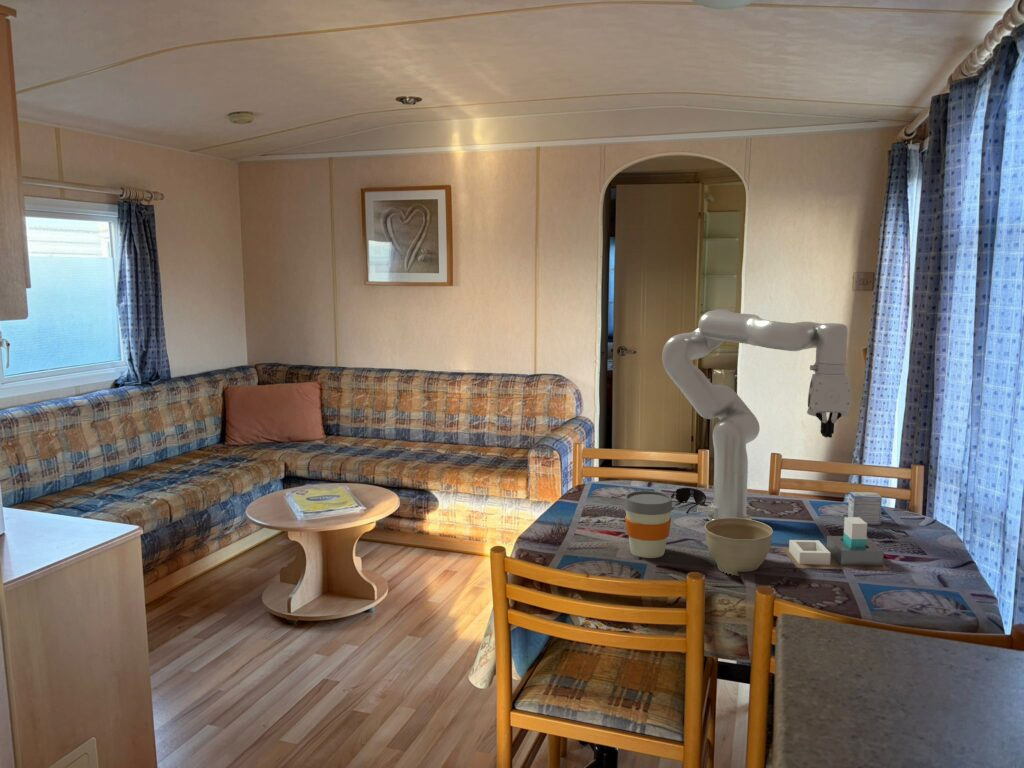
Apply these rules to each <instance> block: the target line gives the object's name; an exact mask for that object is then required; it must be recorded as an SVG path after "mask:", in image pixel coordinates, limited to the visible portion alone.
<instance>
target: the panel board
mask: <svg viewBox="0 0 1024 768" xmlns="http://www.w3.org/2000/svg"><path fill="white" fill-rule="evenodd" d="M781 549H782V551H783V552H784V553H785V554H786V556H787V557H788V558H789V560H790V561H791V563H792V564H793V566H795V568H796V569H818V570H819V569H822V570H823V569H824V570H827V569H828V570H831V569H832V570H863V571H865V570H867V571H868V570H869V571H870V570H872V571H875V570H876V571H890V570H891V569H890V568H889V567H888V566H887V565H886V564H884V563H883V567H864V566H840V565H839V564H838V563H837V562H836V560H835V559H834V558H833V557H832V556H831V555H830V565H825V564H799V563H798V562H797V560H796V559H795V558H794V557H793V555H792V554H791V553H790V552H789V546H788V547H786V546H785V547H781Z"/></svg>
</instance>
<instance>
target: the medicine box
mask: <svg viewBox="0 0 1024 768" xmlns="http://www.w3.org/2000/svg"><path fill="white" fill-rule="evenodd" d="M848 494H849V495H848V511H847V517H859V518H861V519H862V520H863V521H864V522H866V523H867V525H881V518H882V504H883V502H882V501H883V497H882V496H881V495H880V494H878V493H877V492H873V491H872V492H869V491H868V492H866V491H857V492H856V491H853V492H851V491H850V492H848Z"/></svg>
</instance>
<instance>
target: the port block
mask: <svg viewBox="0 0 1024 768" xmlns="http://www.w3.org/2000/svg"><path fill="white" fill-rule="evenodd" d="M843 537H844V535H827V536H826V547H825V548H826V549H827V550H828V551H829V552H830V553H831V556H832V557H833V558H834V559H835V560H836V562H837V563H838V564H839V565H840V566H864V567H883V564H884V556H885V555H884V550H883V549H882V548H881V547H880V546H878V544H876V543H875V542H874V541H873V540H872V539H871V538H869V536H867V538H866V548H849V547H848V546H847V545H846V544H845V543H844V542H843Z"/></svg>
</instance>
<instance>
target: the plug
mask: <svg viewBox="0 0 1024 768" xmlns="http://www.w3.org/2000/svg"><path fill="white" fill-rule="evenodd" d="M843 521H844V522H843V536H844V537H843V542H844V543H845V544H846V545H847V546H848V547H849V548H866V538H867V537H868V536H867V534H868V524H867V523H866V522H864V521H863V520H862V519H861V518H859V517H848V516H845V517H844V520H843Z"/></svg>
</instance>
